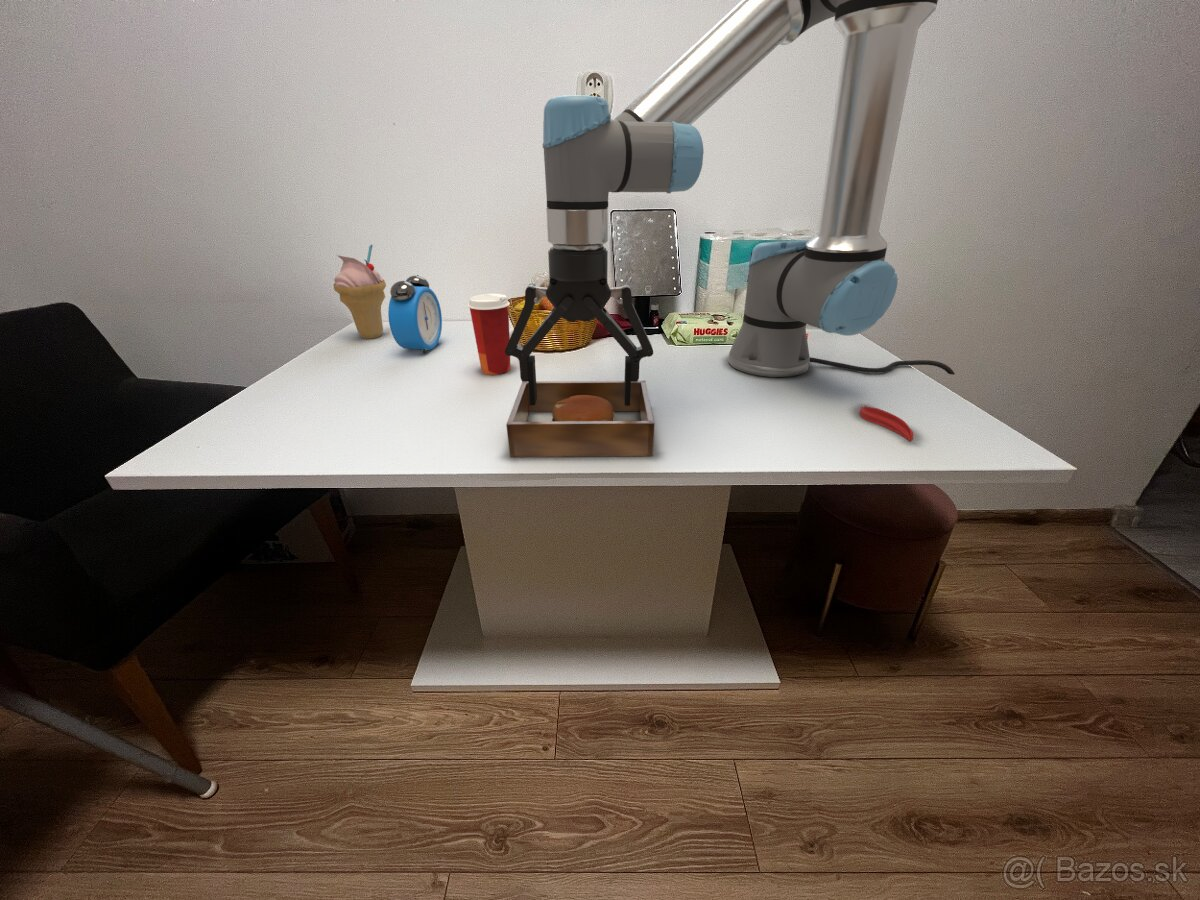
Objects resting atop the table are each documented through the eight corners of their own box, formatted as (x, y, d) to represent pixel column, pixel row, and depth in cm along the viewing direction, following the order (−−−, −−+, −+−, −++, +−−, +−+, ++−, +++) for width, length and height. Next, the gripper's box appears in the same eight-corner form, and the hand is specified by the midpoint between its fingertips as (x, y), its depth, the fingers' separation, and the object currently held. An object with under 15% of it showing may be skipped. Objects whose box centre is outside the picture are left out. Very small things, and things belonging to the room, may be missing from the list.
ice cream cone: (371, 328, 128) (352, 242, 118) (405, 332, 124) (388, 244, 114) (336, 339, 119) (312, 248, 109) (371, 345, 115) (350, 251, 106)
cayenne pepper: (851, 407, 83) (853, 396, 82) (879, 407, 83) (882, 396, 82) (887, 441, 73) (891, 429, 72) (920, 441, 73) (924, 429, 72)
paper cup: (522, 365, 102) (516, 294, 96) (504, 378, 96) (496, 303, 89) (488, 361, 105) (479, 291, 98) (468, 374, 98) (457, 300, 92)
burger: (624, 439, 74) (624, 410, 72) (562, 450, 71) (560, 420, 69) (602, 413, 82) (601, 386, 80) (545, 422, 80) (543, 394, 77)
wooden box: (644, 409, 83) (645, 380, 81) (652, 456, 70) (654, 423, 67) (524, 409, 83) (522, 381, 81) (509, 457, 70) (506, 424, 67)
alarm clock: (422, 358, 107) (408, 284, 99) (394, 357, 107) (378, 284, 100) (446, 340, 118) (435, 272, 111) (421, 339, 119) (409, 272, 111)
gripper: (673, 242, 67) (663, 392, 77) (484, 241, 67) (499, 391, 77) (681, 250, 61) (668, 412, 71) (472, 249, 61) (489, 412, 71)
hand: (580, 402), depth 74 cm, fingers open, 13 cm apart
